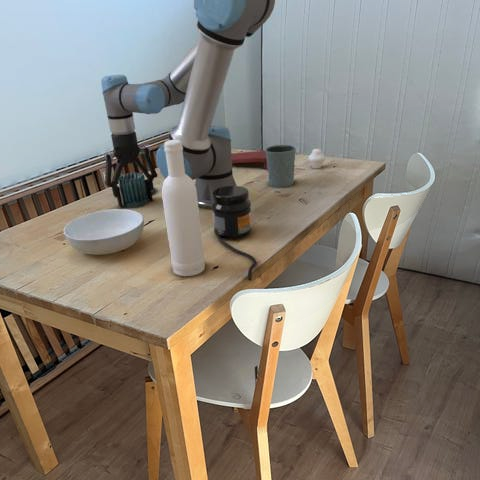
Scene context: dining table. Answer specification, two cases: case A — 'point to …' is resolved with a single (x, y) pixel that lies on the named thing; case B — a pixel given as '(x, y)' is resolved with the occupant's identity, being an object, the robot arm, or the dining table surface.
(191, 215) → the bottle
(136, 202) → the teal ridged cylinder
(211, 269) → the dining table surface
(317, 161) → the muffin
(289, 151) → the green plant pot
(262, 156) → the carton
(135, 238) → the serving bowl
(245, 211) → the supplement container
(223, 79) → the robot arm
